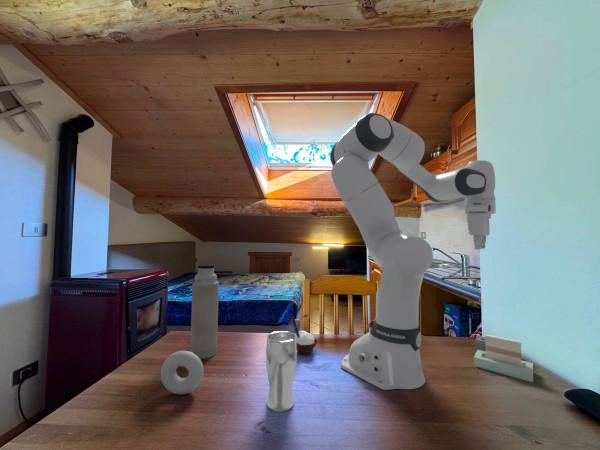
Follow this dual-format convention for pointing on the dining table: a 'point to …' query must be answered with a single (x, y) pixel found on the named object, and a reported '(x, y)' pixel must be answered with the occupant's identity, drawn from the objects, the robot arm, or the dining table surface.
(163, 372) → the donut
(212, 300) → the thermos bottle
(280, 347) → the beer glass
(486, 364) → the tray
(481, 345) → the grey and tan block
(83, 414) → the dining table surface
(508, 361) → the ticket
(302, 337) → the coconut drink with straw
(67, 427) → the dining table surface
